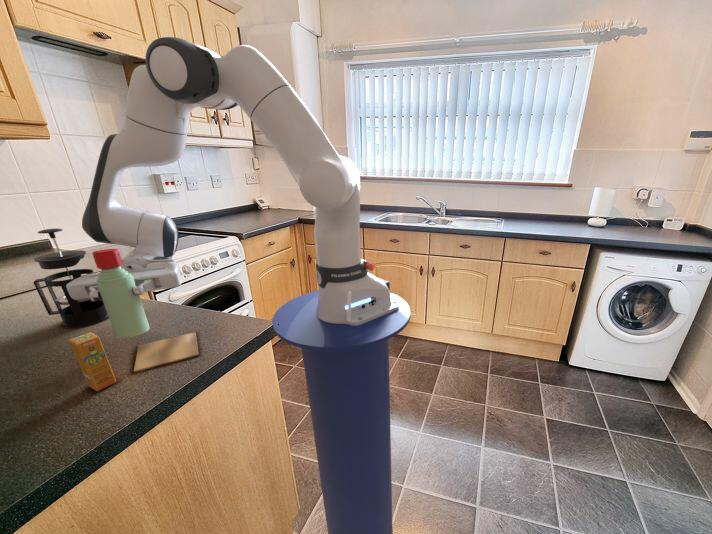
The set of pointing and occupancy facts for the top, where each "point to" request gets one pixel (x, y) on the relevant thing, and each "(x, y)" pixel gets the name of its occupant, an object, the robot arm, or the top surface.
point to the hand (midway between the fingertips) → (116, 294)
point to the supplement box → (92, 361)
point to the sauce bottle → (122, 302)
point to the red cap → (107, 258)
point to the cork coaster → (166, 351)
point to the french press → (78, 310)
